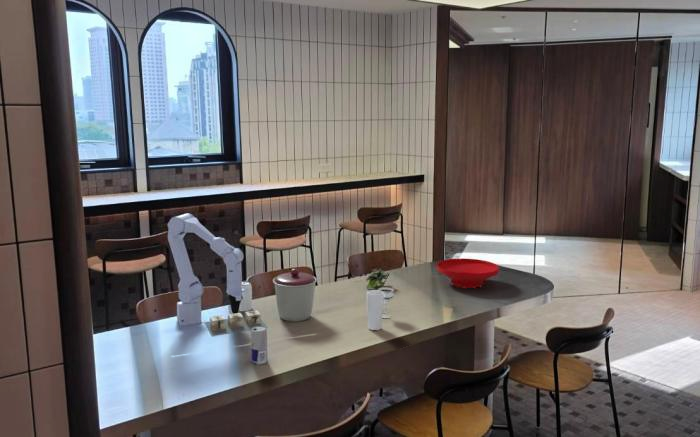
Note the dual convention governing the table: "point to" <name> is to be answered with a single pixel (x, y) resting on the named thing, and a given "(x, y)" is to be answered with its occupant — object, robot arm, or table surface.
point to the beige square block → (217, 322)
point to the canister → (294, 295)
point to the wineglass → (387, 297)
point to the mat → (232, 330)
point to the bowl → (467, 271)
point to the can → (246, 297)
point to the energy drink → (259, 345)
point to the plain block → (235, 320)
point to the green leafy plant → (377, 278)
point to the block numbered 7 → (252, 317)
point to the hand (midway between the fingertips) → (235, 312)
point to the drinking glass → (374, 308)
